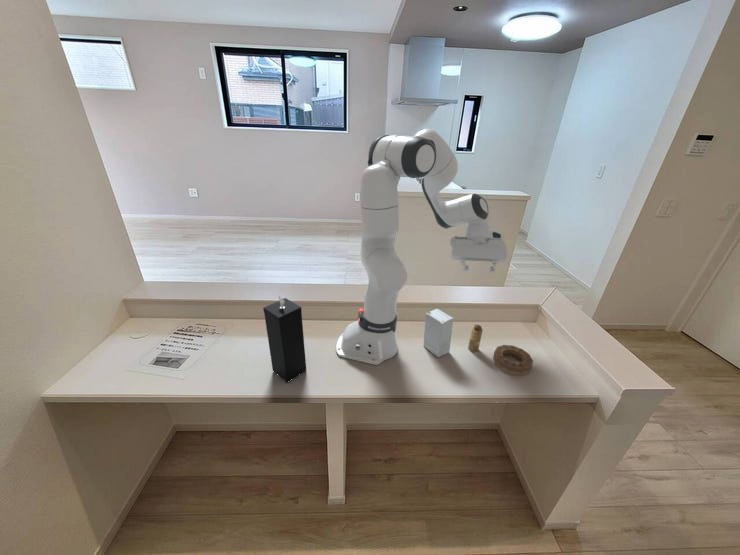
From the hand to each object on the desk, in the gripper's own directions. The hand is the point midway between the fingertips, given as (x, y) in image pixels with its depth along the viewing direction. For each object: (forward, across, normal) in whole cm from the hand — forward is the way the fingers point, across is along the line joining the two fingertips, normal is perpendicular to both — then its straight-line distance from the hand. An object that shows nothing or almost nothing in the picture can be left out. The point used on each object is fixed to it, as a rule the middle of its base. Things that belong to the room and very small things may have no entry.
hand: (479, 271), depth 115 cm
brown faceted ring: (+32, +12, +5) cm, 34 cm away
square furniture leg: (+41, -63, -5) cm, 76 cm away
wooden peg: (+27, 0, +10) cm, 29 cm away
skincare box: (+29, -14, +8) cm, 33 cm away
